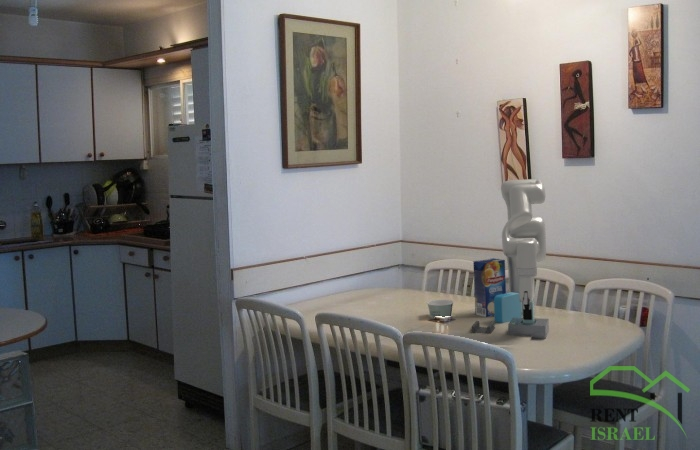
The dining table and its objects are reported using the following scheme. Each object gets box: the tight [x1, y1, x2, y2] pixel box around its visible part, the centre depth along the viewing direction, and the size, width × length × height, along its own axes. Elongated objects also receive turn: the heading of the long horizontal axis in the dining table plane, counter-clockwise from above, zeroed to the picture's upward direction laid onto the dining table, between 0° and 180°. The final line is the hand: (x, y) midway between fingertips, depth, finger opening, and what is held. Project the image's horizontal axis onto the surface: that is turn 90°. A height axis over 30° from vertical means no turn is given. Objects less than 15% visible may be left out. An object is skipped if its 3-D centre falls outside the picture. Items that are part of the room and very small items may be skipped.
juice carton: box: [473, 258, 507, 318], centre depth 325 cm, size 12×8×24 cm, turn 122°
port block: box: [507, 317, 550, 340], centre depth 287 cm, size 12×14×6 cm
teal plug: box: [521, 299, 535, 324], centre depth 286 cm, size 4×4×11 cm
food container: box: [426, 299, 455, 319], centre depth 326 cm, size 12×12×6 cm
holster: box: [470, 320, 496, 334], centre depth 293 cm, size 10×8×4 cm
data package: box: [494, 291, 523, 324], centre depth 308 cm, size 12×4×12 cm, turn 126°
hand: (528, 317), depth 286 cm, fingers closed on teal plug, 4 cm apart
